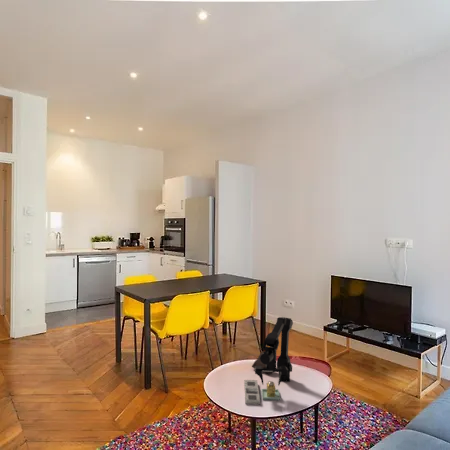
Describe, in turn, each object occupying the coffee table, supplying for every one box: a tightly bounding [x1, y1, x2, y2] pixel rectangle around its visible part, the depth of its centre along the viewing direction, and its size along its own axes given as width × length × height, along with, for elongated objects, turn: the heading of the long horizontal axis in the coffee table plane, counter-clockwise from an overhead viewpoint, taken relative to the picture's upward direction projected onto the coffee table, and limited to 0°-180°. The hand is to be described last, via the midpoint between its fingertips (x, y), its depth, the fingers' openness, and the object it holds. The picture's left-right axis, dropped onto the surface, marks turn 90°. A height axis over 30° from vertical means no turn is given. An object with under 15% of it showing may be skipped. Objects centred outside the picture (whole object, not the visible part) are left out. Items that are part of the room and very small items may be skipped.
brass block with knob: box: [266, 380, 276, 397], centre depth 208 cm, size 4×4×7 cm
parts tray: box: [261, 388, 281, 401], centre depth 208 cm, size 10×10×2 cm
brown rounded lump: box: [251, 351, 274, 375], centre depth 245 cm, size 10×15×15 cm
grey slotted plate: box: [243, 379, 261, 405], centre depth 210 cm, size 8×24×3 cm, turn 178°
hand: (270, 384), depth 207 cm, fingers open, 9 cm apart
